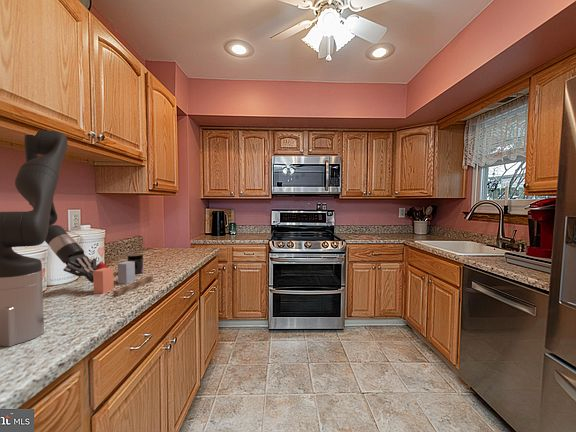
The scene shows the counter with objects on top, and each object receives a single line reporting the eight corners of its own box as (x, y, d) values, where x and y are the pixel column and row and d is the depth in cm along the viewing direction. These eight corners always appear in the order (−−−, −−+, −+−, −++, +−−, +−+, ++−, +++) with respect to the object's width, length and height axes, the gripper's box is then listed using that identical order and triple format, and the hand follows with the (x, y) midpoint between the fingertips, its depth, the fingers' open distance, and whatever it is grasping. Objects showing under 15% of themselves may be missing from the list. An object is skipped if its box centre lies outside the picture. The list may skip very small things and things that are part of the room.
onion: (101, 280, 121) (100, 263, 121) (90, 279, 122) (90, 262, 122) (111, 276, 127) (111, 260, 126) (101, 276, 128) (101, 259, 128)
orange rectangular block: (103, 293, 99) (102, 271, 99) (93, 293, 100) (93, 270, 100) (113, 289, 104) (113, 268, 104) (104, 288, 105) (104, 267, 104)
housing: (118, 299, 97) (118, 291, 97) (85, 297, 99) (85, 289, 99) (152, 283, 117) (152, 276, 117) (125, 282, 119) (125, 275, 118)
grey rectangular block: (126, 284, 111) (126, 264, 111) (118, 283, 112) (117, 263, 111) (135, 280, 116) (134, 261, 116) (126, 280, 117) (126, 261, 116)
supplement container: (142, 277, 127) (142, 255, 126) (126, 278, 124) (125, 256, 124) (144, 273, 133) (144, 253, 133) (128, 274, 131) (128, 253, 130)
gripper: (55, 244, 96) (86, 279, 95) (87, 239, 109) (114, 270, 108) (43, 258, 97) (73, 293, 96) (76, 252, 110) (103, 282, 109)
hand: (95, 280), depth 102 cm, fingers closed
